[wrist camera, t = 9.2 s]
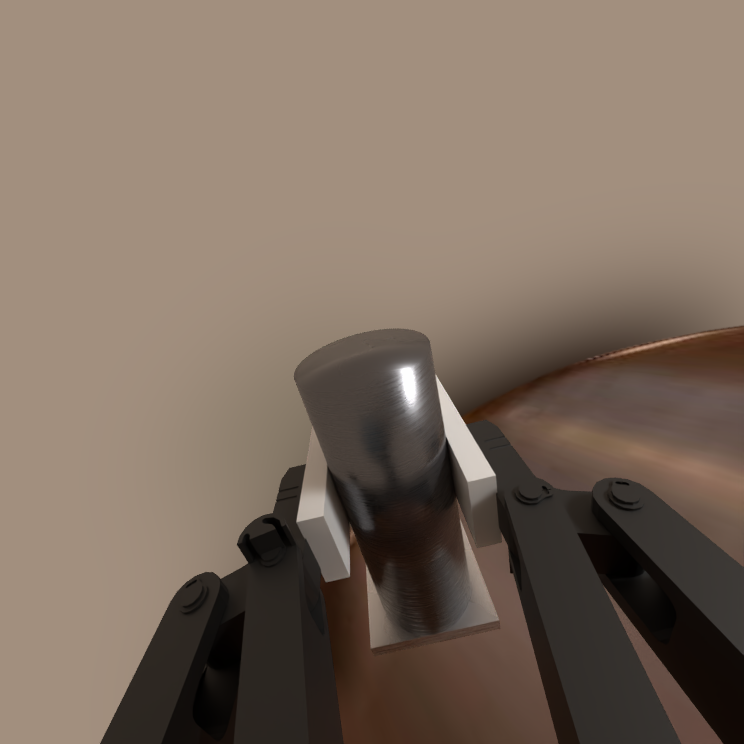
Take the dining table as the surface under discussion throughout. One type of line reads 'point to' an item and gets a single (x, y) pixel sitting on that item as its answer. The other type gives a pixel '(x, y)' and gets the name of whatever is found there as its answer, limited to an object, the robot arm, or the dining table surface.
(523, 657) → the dining table surface
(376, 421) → the metal post on base
